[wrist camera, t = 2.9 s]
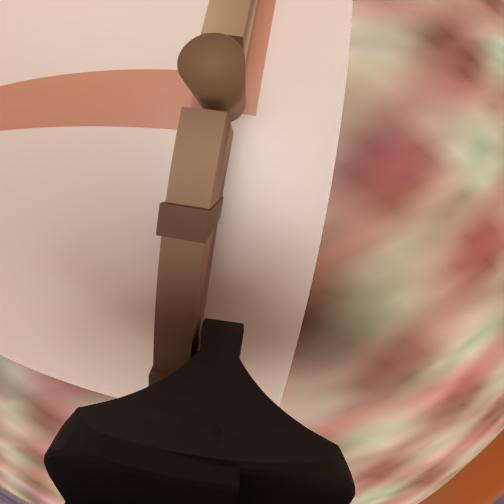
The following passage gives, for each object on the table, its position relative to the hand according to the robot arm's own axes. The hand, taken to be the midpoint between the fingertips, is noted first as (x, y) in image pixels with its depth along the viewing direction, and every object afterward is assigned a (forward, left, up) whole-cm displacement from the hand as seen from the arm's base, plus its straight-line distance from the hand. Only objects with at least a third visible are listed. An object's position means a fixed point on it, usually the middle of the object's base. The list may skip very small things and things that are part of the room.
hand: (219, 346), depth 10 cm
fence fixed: (-1, +14, -2) cm, 14 cm away
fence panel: (-1, +1, -1) cm, 2 cm away
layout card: (-7, +8, -2) cm, 10 cm away
